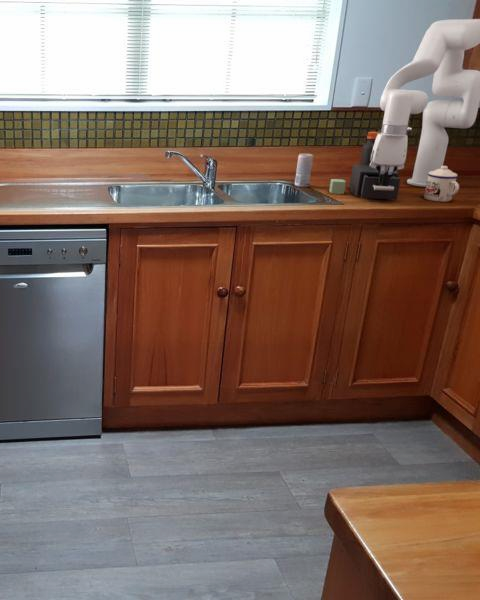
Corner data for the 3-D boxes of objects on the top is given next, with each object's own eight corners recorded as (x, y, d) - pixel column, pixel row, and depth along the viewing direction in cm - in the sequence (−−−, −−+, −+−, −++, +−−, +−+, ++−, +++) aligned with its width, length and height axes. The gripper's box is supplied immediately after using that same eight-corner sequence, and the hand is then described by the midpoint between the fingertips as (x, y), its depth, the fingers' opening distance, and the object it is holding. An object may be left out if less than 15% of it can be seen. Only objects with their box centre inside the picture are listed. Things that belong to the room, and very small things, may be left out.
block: (329, 190, 228) (331, 179, 226) (341, 191, 227) (343, 179, 225) (331, 193, 224) (333, 181, 222) (344, 194, 223) (346, 181, 221)
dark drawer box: (393, 198, 216) (399, 173, 213) (356, 197, 219) (360, 171, 215) (384, 190, 229) (389, 165, 226) (348, 188, 232) (352, 164, 228)
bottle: (353, 185, 237) (362, 132, 230) (359, 182, 242) (368, 130, 235) (371, 187, 233) (381, 134, 226) (377, 184, 238) (387, 132, 230)
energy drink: (307, 184, 238) (311, 153, 234) (310, 187, 233) (315, 155, 229) (293, 184, 239) (297, 153, 234) (296, 187, 234) (300, 155, 229)
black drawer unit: (399, 202, 206) (404, 181, 204) (364, 201, 209) (368, 179, 206) (387, 191, 223) (391, 171, 220) (354, 190, 225) (357, 170, 222)
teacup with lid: (416, 197, 218) (423, 164, 214) (437, 195, 221) (444, 163, 216) (443, 204, 208) (451, 170, 203) (464, 203, 210) (473, 169, 206)
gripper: (414, 130, 203) (403, 184, 210) (367, 128, 206) (357, 182, 213) (421, 132, 196) (409, 189, 203) (372, 130, 199) (361, 186, 206)
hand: (382, 185), depth 208 cm, fingers closed
